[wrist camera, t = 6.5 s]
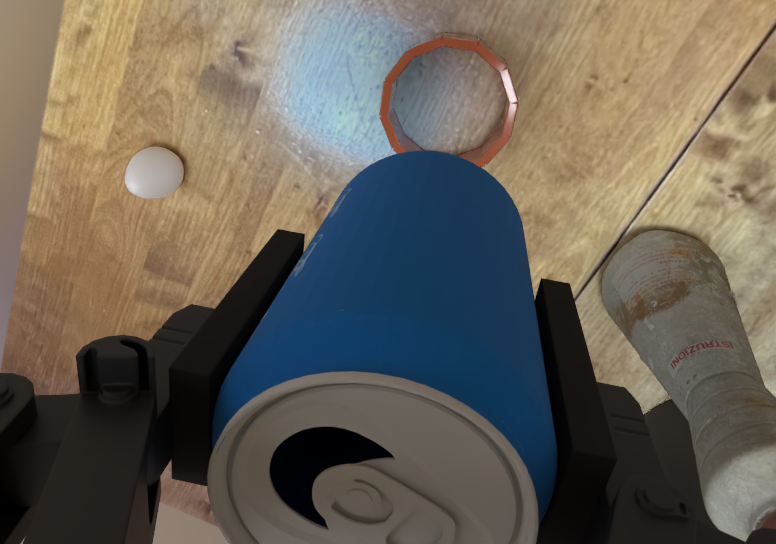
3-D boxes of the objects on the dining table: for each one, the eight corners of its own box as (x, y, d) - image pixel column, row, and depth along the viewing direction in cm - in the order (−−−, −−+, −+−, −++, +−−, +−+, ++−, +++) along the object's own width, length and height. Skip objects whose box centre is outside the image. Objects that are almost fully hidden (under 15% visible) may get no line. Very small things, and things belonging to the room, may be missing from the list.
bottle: (696, 204, 44) (972, 501, 20) (733, 303, 47) (1013, 671, 23) (580, 251, 47) (693, 564, 22) (622, 342, 50) (762, 708, 25)
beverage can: (401, 103, 19) (297, 273, 8) (564, 219, 20) (657, 506, 9) (300, 254, 22) (127, 525, 11) (447, 349, 23) (416, 683, 12)
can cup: (442, 4, 41) (439, 6, 38) (541, 92, 42) (545, 100, 40) (362, 110, 45) (354, 118, 42) (456, 187, 46) (454, 200, 44)
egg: (151, 133, 48) (114, 152, 43) (195, 156, 48) (163, 177, 43) (138, 174, 49) (101, 197, 44) (181, 196, 50) (149, 221, 45)
